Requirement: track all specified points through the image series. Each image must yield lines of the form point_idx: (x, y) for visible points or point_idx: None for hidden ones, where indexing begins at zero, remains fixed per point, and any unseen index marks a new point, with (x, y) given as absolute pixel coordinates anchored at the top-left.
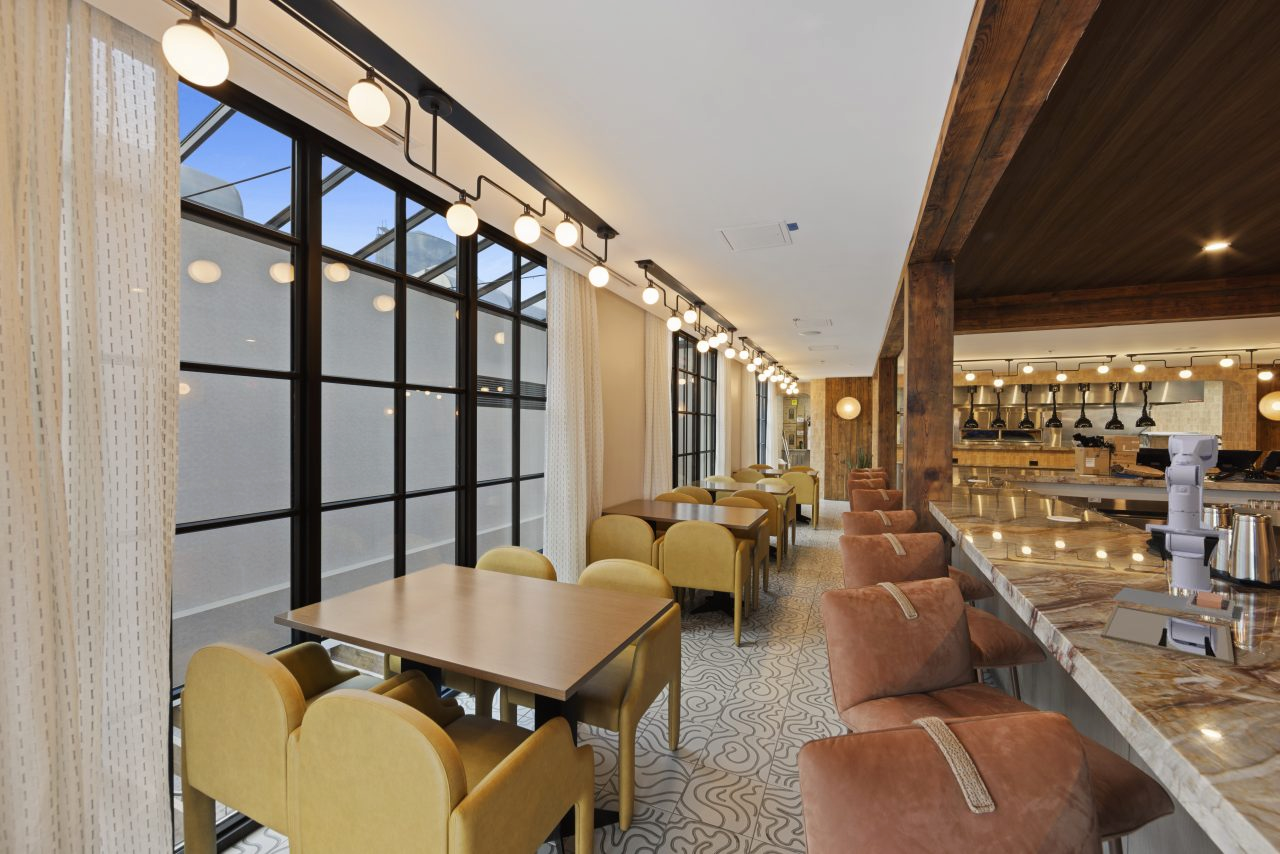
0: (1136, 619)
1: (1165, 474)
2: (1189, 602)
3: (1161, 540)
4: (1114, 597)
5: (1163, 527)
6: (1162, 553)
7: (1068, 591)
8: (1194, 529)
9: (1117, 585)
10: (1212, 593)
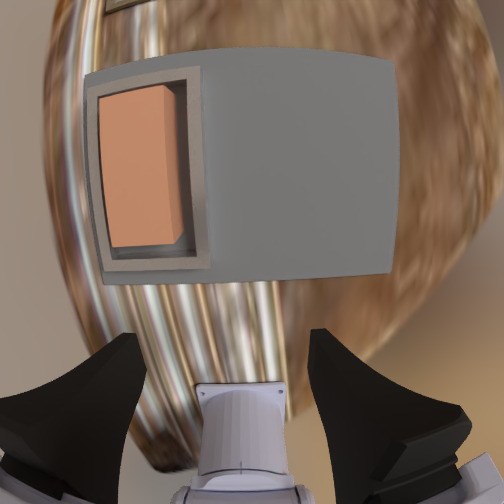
0: None
1: None
2: (192, 102)
3: (384, 415)
4: (395, 83)
5: None
6: (338, 350)
7: (477, 96)
8: None
9: (403, 293)
10: (137, 237)
